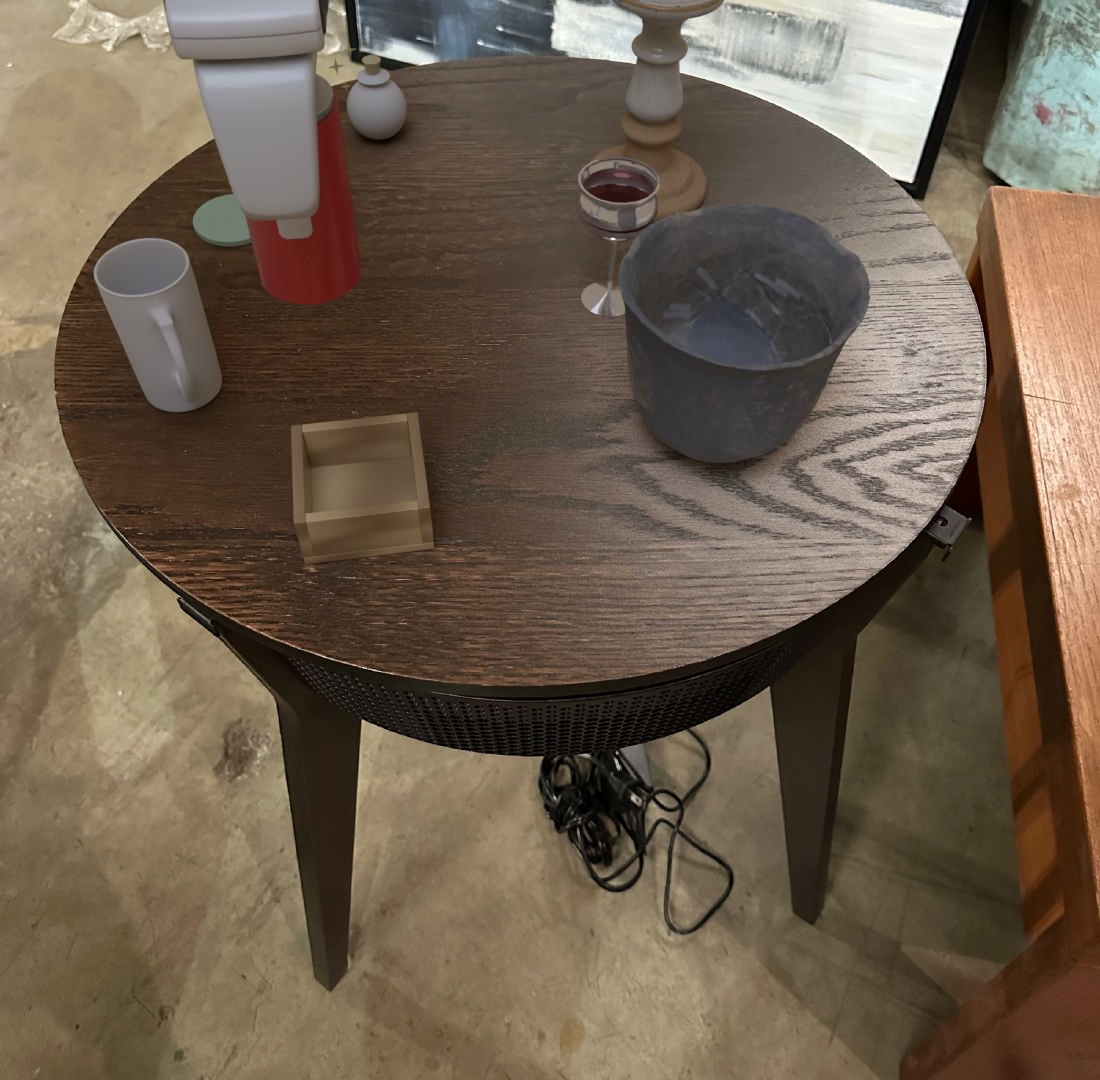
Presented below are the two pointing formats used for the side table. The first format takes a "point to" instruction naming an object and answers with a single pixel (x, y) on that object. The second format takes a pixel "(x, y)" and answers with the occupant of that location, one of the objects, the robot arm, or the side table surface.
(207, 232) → the coaster
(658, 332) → the dark grey metal pot
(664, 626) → the side table surface
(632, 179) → the wineglass
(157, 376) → the mug
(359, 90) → the ornament
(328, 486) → the holder
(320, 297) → the can
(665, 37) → the candle holder
